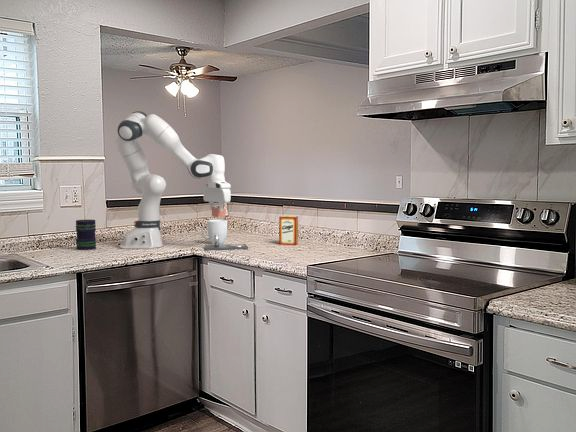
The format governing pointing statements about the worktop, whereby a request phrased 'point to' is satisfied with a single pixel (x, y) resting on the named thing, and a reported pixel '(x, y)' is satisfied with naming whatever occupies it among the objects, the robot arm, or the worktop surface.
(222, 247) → the base
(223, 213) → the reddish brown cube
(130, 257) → the worktop surface
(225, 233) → the mug
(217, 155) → the robot arm
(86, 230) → the storage jar
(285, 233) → the baking soda box
